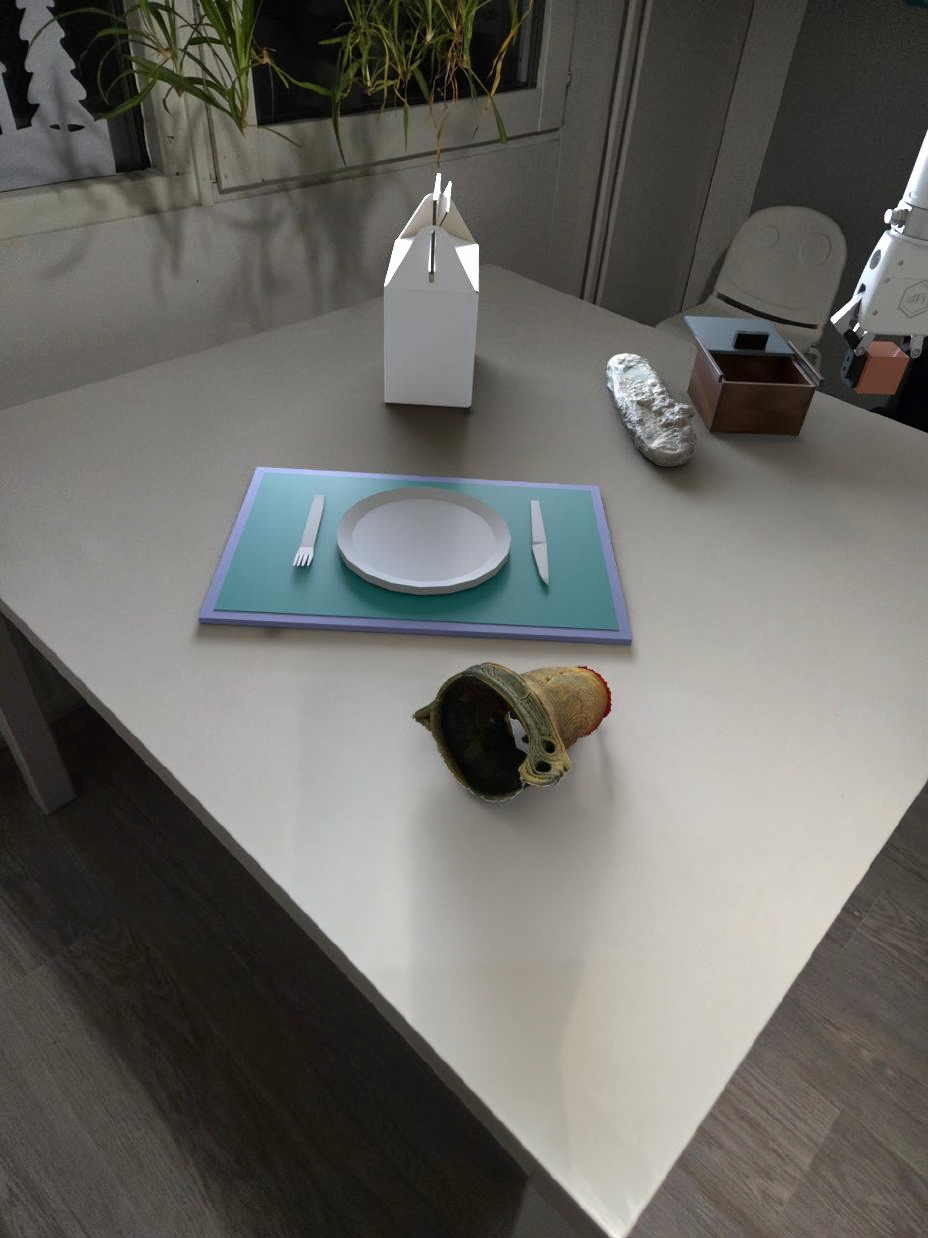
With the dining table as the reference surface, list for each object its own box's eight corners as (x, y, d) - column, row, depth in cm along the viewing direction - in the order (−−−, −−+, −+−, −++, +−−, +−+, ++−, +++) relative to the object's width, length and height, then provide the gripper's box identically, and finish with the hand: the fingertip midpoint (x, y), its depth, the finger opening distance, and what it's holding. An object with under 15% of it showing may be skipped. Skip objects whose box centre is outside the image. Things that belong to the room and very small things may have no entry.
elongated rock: (649, 375, 142) (592, 376, 141) (653, 345, 139) (595, 346, 138) (709, 470, 114) (638, 472, 114) (716, 435, 111) (643, 436, 110)
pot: (679, 667, 71) (548, 711, 58) (663, 788, 74) (535, 854, 61) (527, 624, 82) (390, 652, 70) (518, 729, 85) (385, 775, 73)
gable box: (470, 409, 125) (484, 210, 107) (384, 403, 125) (383, 203, 107) (471, 350, 142) (483, 170, 124) (395, 345, 142) (396, 164, 124)
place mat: (199, 623, 85) (196, 606, 83) (257, 471, 108) (255, 456, 106) (631, 644, 86) (635, 628, 85) (597, 491, 110) (600, 476, 108)
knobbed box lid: (765, 322, 138) (771, 304, 136) (794, 357, 127) (800, 338, 125) (684, 319, 137) (688, 300, 135) (705, 353, 127) (710, 334, 125)
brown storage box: (774, 395, 136) (792, 340, 130) (804, 436, 125) (824, 379, 119) (682, 391, 135) (695, 336, 129) (703, 432, 124) (719, 374, 118)
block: (878, 378, 102) (892, 341, 99) (894, 394, 98) (910, 357, 95) (842, 376, 102) (856, 340, 99) (857, 393, 98) (872, 356, 95)
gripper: (871, 230, 85) (812, 395, 96) (1027, 237, 86) (950, 400, 98) (842, 209, 90) (790, 368, 102) (989, 217, 91) (920, 373, 103)
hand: (869, 382), depth 100 cm, fingers closed on block, 4 cm apart
